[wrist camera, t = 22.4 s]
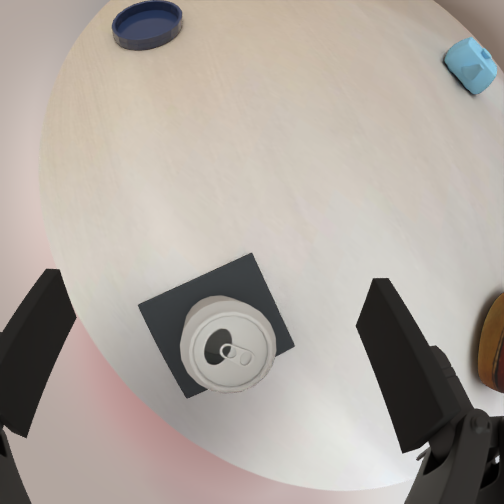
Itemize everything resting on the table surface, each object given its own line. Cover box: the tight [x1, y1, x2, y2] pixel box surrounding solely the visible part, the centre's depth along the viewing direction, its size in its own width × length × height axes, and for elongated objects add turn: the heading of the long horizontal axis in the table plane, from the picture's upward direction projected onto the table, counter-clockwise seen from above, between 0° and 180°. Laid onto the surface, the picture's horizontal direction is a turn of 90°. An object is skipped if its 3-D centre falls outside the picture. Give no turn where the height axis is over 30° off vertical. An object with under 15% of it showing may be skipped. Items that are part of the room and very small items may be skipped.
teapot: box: [445, 37, 497, 94], centre depth 43 cm, size 12×18×12 cm
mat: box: [138, 253, 295, 398], centre depth 32 cm, size 14×12×1 cm
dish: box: [112, 0, 182, 50], centre depth 33 cm, size 11×11×2 cm
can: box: [180, 295, 276, 393], centre depth 26 cm, size 8×8×12 cm
